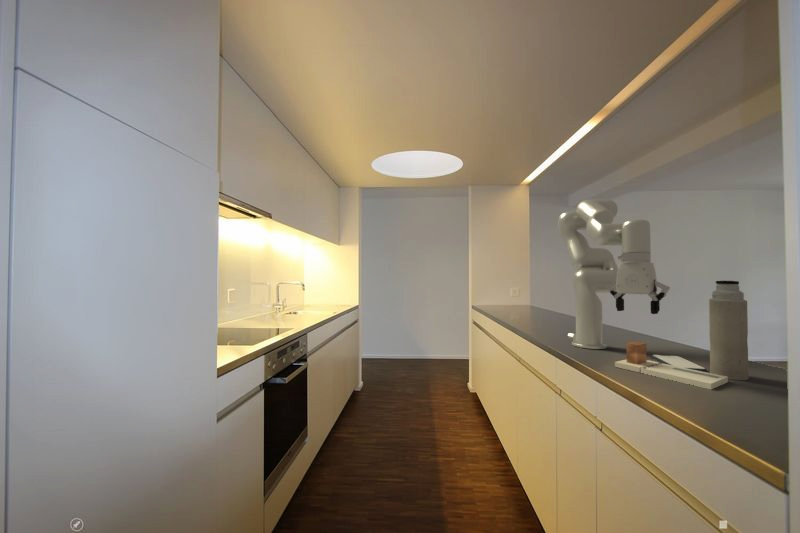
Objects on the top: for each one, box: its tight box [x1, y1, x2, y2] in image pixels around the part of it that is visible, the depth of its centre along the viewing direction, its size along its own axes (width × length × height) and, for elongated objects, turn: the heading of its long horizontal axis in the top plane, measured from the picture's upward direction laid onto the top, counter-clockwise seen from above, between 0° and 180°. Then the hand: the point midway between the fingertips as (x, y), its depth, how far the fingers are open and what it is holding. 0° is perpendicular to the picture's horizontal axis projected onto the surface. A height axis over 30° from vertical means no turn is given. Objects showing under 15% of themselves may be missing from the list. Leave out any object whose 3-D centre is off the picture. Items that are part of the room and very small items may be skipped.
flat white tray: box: [640, 362, 729, 391], centre depth 95 cm, size 16×12×2 cm
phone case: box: [651, 354, 708, 373], centre depth 109 cm, size 9×2×16 cm
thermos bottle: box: [708, 280, 749, 381], centre depth 97 cm, size 8×8×28 cm
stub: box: [614, 341, 659, 373], centre depth 105 cm, size 7×12×8 cm, turn 120°
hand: (636, 312), depth 105 cm, fingers open, 9 cm apart
